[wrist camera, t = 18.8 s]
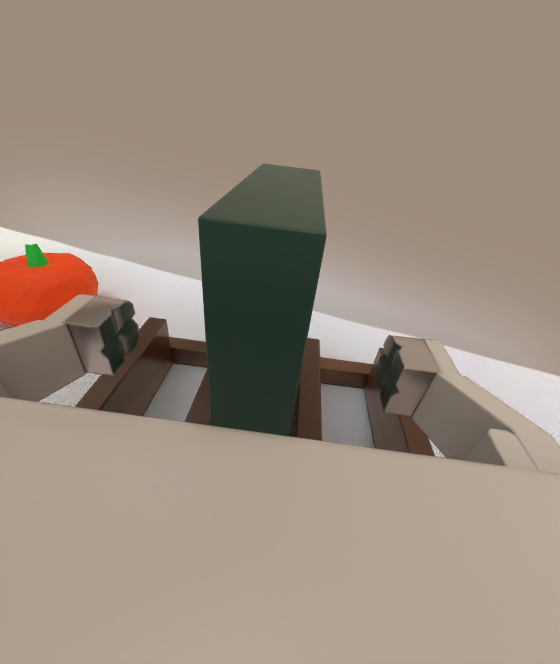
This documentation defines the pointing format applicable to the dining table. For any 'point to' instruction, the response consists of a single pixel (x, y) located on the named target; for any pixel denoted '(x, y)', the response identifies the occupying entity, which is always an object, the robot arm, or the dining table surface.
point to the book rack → (155, 361)
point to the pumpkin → (41, 284)
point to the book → (260, 294)
